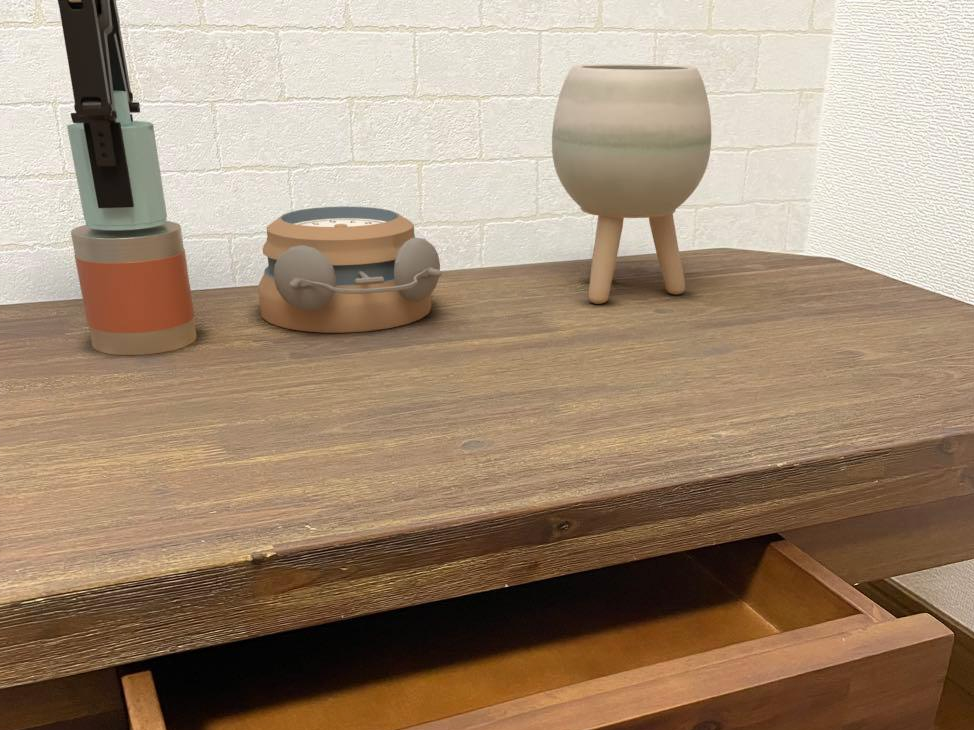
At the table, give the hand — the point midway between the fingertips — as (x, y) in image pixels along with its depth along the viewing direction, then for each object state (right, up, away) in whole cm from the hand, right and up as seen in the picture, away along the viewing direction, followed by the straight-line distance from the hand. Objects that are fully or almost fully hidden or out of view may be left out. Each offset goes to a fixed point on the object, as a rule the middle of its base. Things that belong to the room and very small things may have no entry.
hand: (122, 199), depth 89 cm
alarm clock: (+18, -7, +14) cm, 23 cm away
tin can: (0, -11, +6) cm, 12 cm away
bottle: (0, -2, +1) cm, 2 cm away
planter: (+45, -3, +24) cm, 51 cm away
